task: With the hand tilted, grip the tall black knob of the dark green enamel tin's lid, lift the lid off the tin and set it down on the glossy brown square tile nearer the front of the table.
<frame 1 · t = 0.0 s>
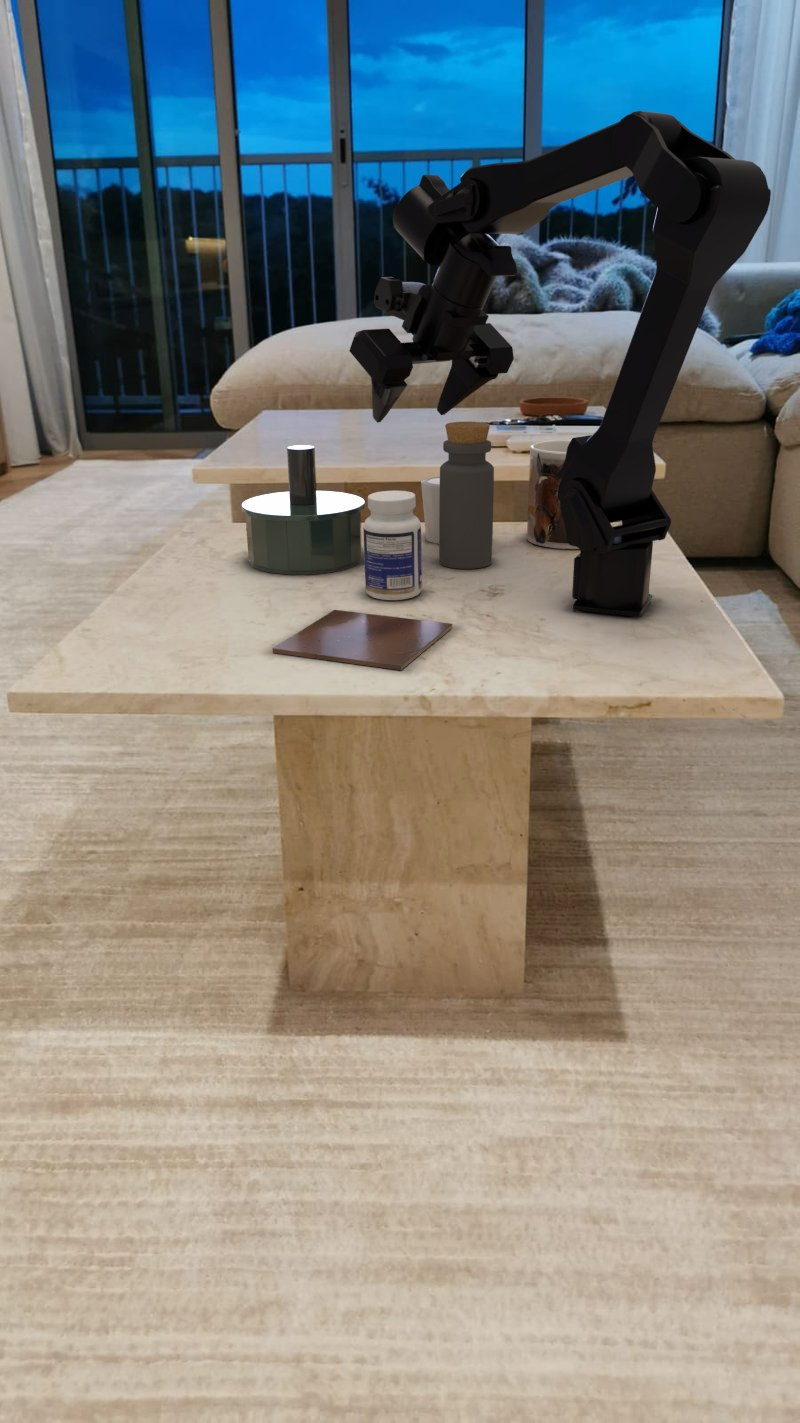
hand: (408, 416, 121), 15 cm above the table, tool tilted 35°, fingers open, 9 cm apart
bottle: (465, 564, 119), on the table
mug: (574, 543, 128), on the table
tin lid: (303, 507, 119), point 6 cm above the table, touching tin
shot glass: (449, 540, 130), on the table
pill bottle: (393, 595, 108), on the table
tin: (305, 560, 121), on the table
glossy brown square tile: (365, 639, 95), on the table
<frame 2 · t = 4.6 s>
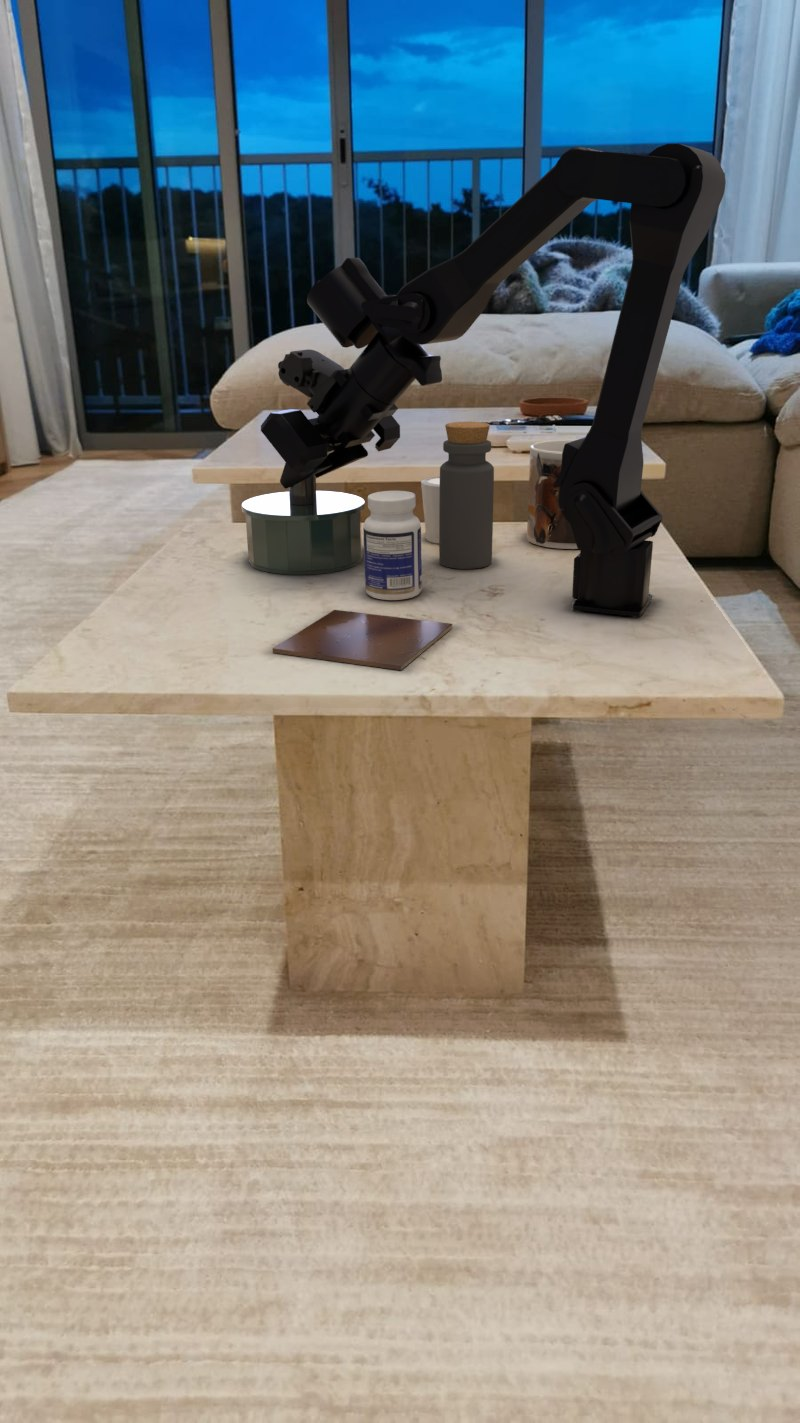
hand: (292, 482, 118), 9 cm above the table, tool tilted 45°, fingers closed on tin lid, 3 cm apart
tin lid: (303, 507, 119), point 6 cm above the table, touching gripper, tin
everything else where it was.
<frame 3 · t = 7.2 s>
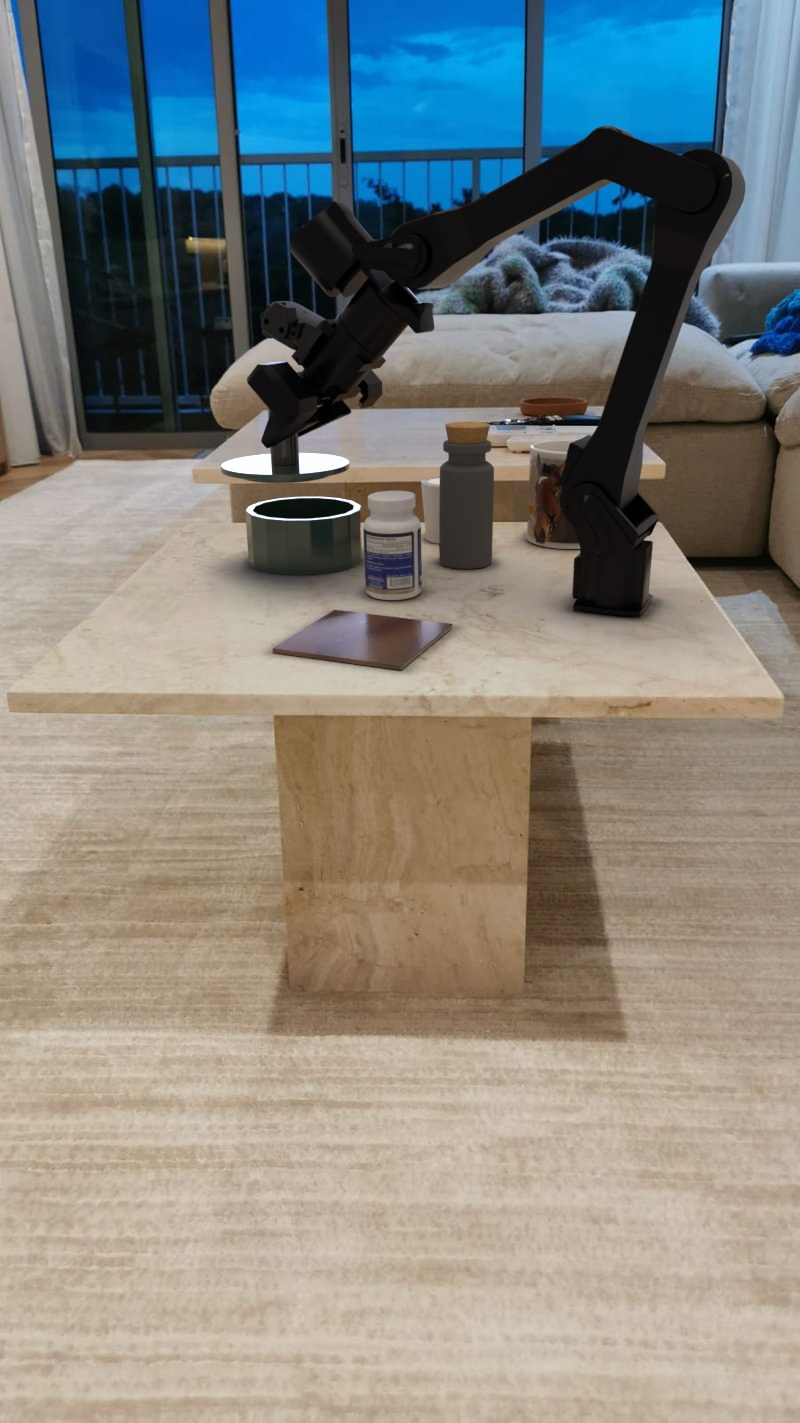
hand: (273, 442, 113), 13 cm above the table, tool tilted 45°, fingers closed on tin lid, 3 cm apart
tin lid: (285, 468, 114), point 11 cm above the table, touching gripper
everything else where it was.
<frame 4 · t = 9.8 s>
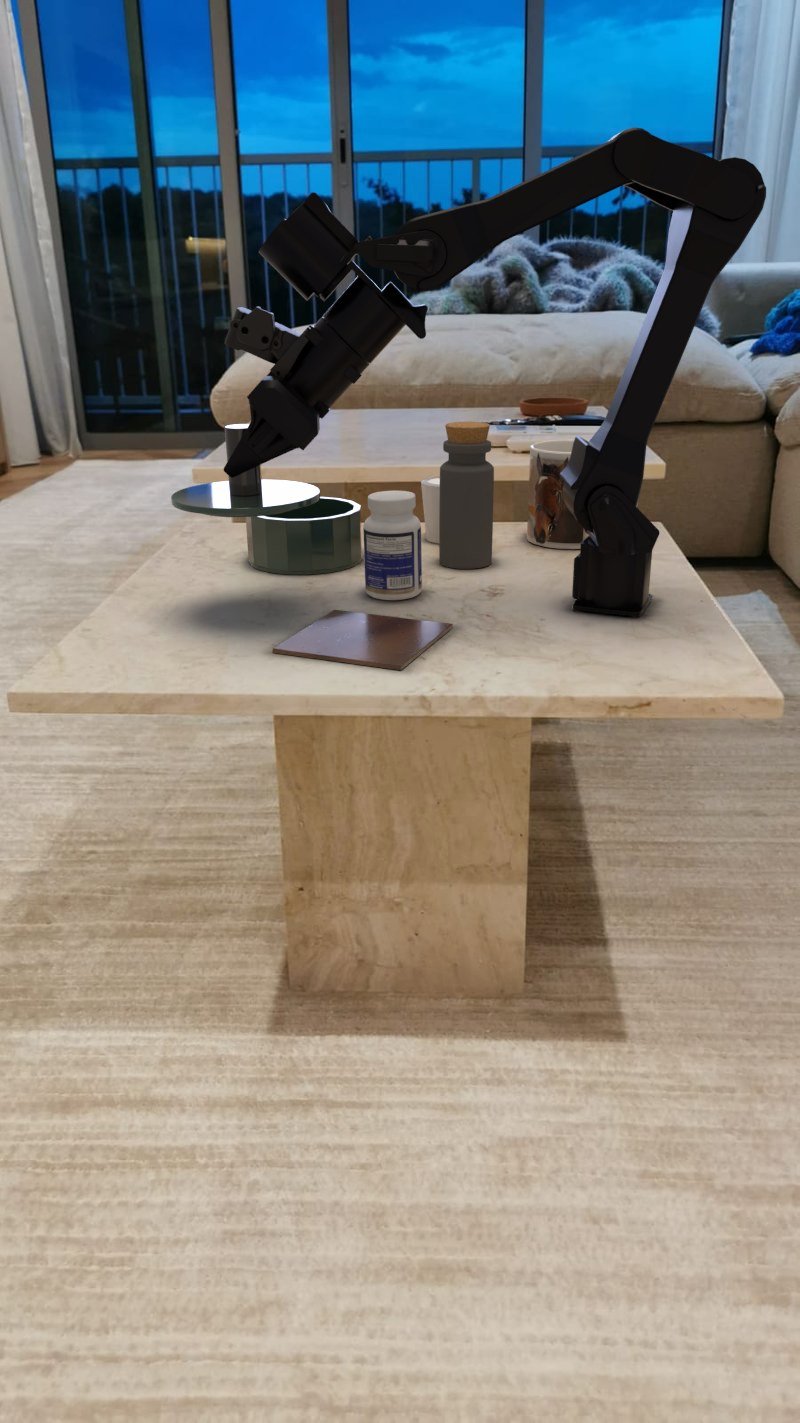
hand: (229, 470, 98), 13 cm above the table, tool tilted 45°, fingers closed on tin lid, 3 cm apart
tin lid: (246, 499, 99), point 11 cm above the table, touching gripper
everything else where it was.
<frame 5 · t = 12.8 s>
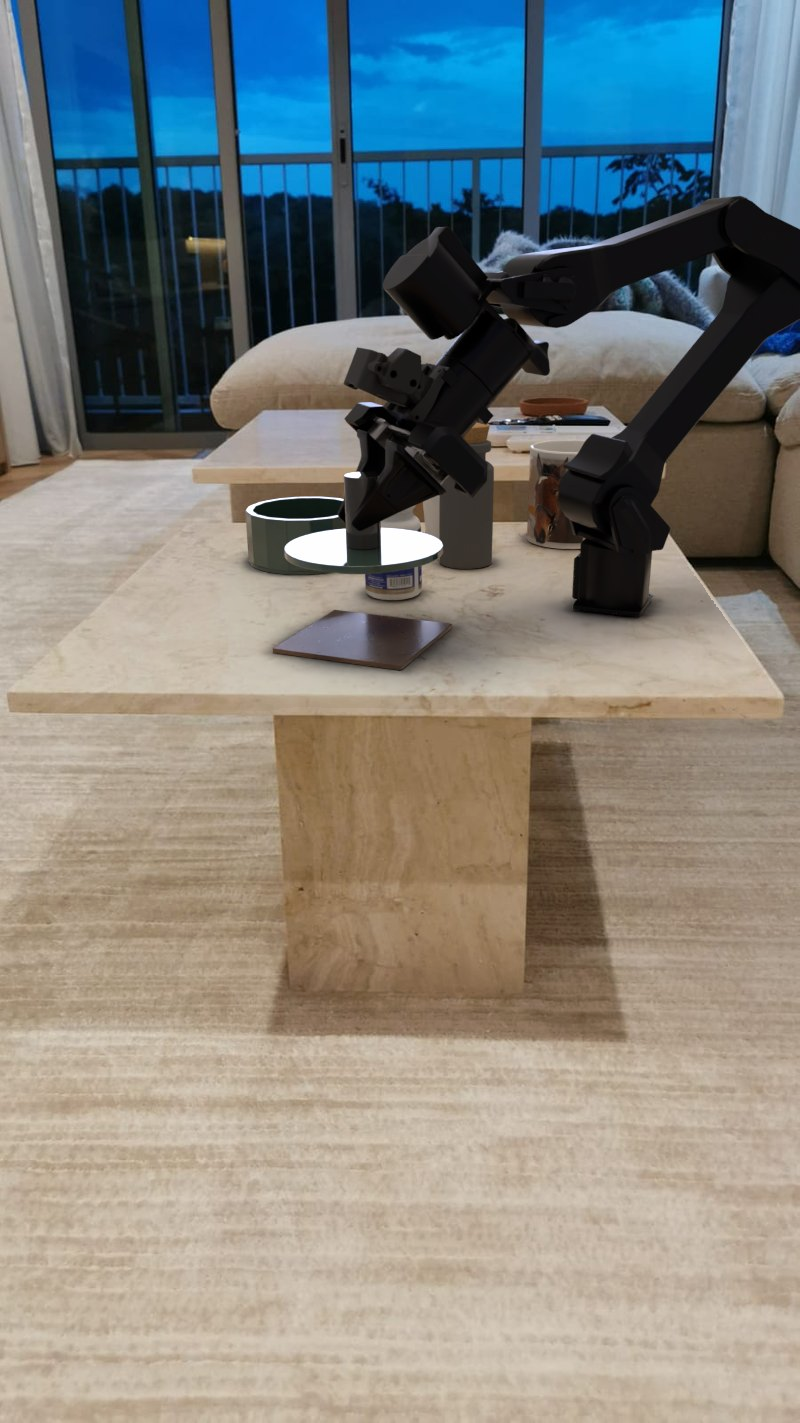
hand: (347, 523, 90), 11 cm above the table, tool tilted 45°, fingers closed on tin lid, 3 cm apart
tin lid: (363, 552, 92), point 8 cm above the table, touching gripper
everything else where it was.
when the fingers open (4 cm above the table, at t = 15.1 s): tin lid stays where it is, resting on glossy brown square tile.
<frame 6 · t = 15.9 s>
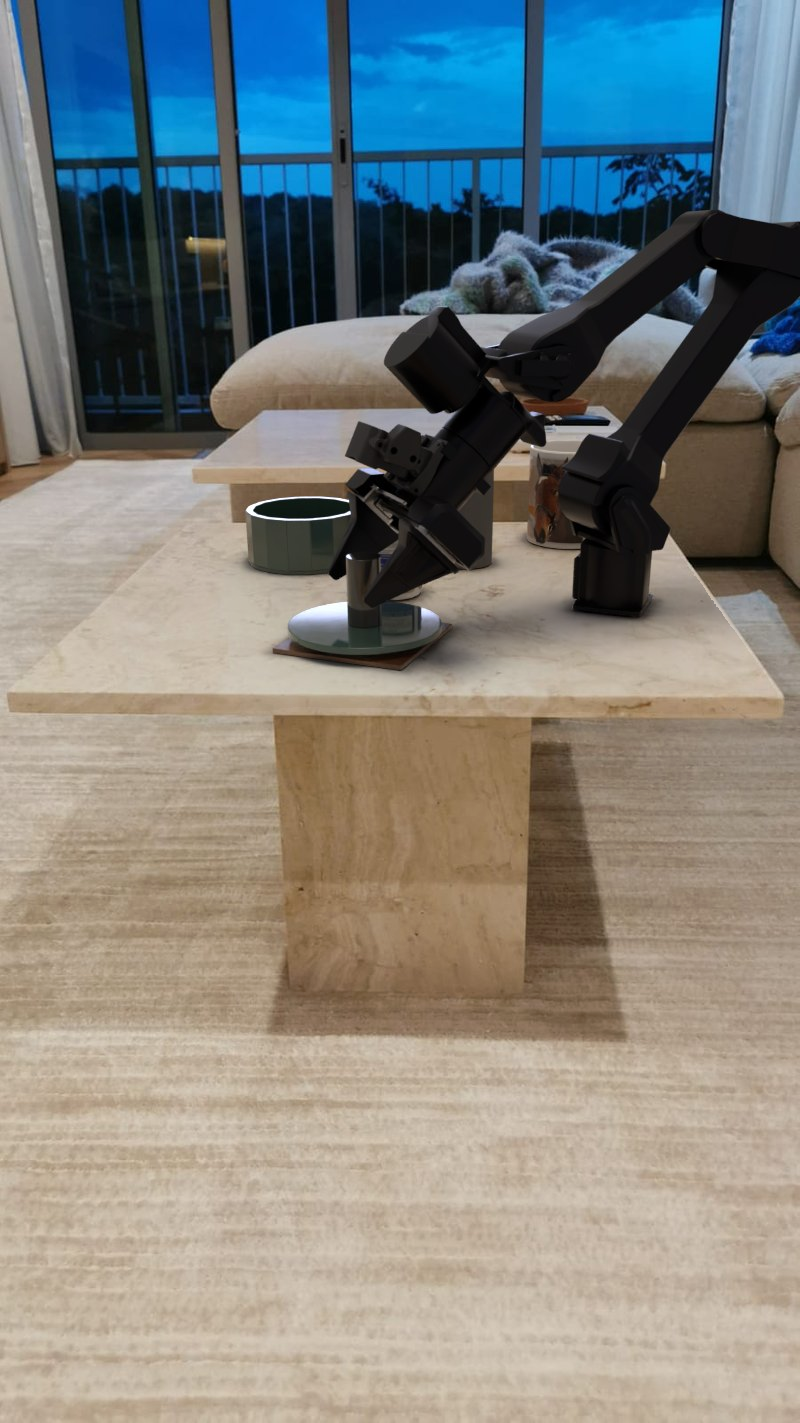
hand: (348, 590, 93), 5 cm above the table, tool tilted 45°, fingers open, 9 cm apart
tin lid: (365, 629, 94), point 1 cm above the table, touching glossy brown square tile
everything else where it was.
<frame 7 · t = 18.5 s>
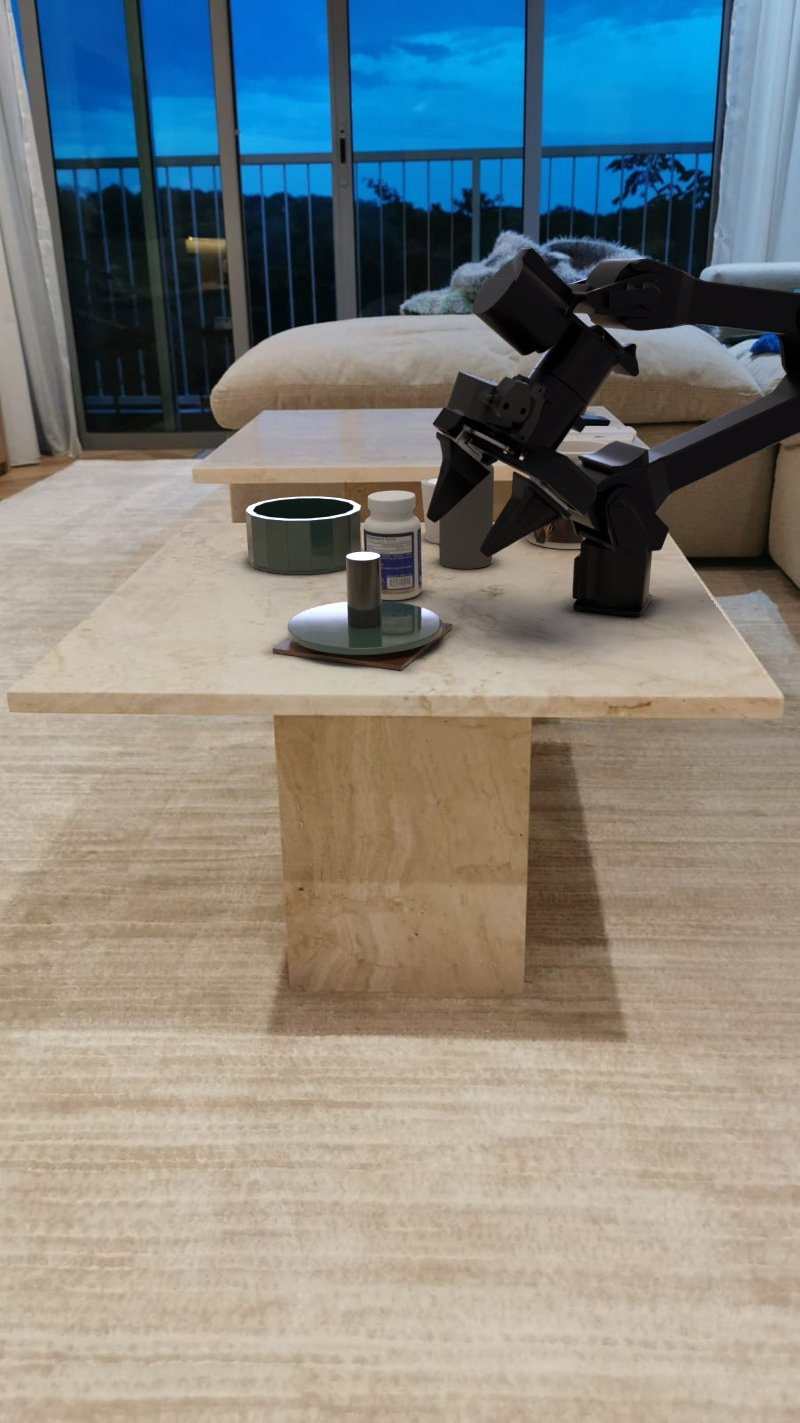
hand: (455, 536, 96), 8 cm above the table, tool tilted 40°, fingers open, 9 cm apart
nothing on the table moved.
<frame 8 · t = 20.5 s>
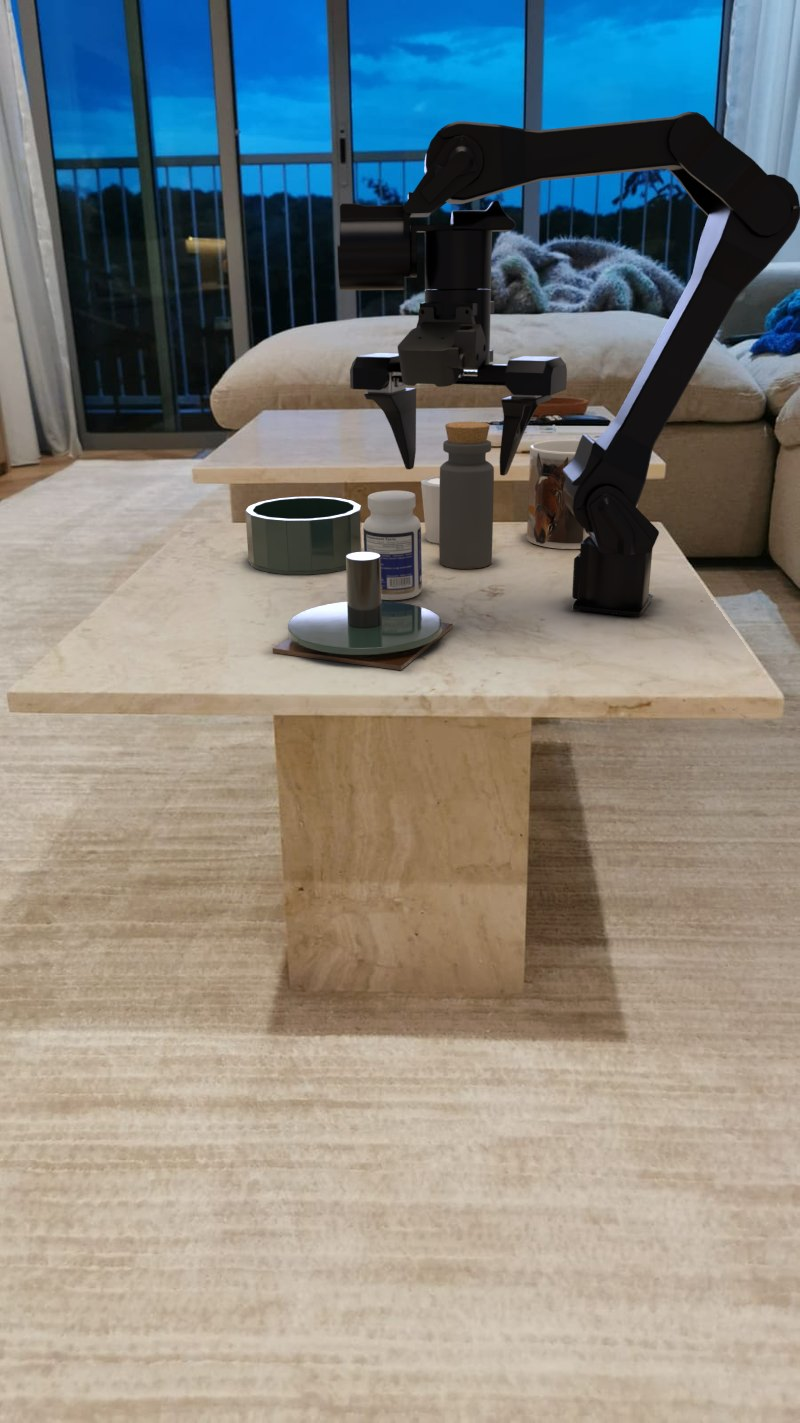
hand: (455, 471, 99), 13 cm above the table, tool pointing down, fingers open, 9 cm apart
nothing on the table moved.
at the end: tin lid inside the target area on the glossy brown square tile (0.0 cm from its centre), point 1.0 cm above the glossy brown square tile's base; tin lid tilted 0°; tin lid moved 29.6 cm from its start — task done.
